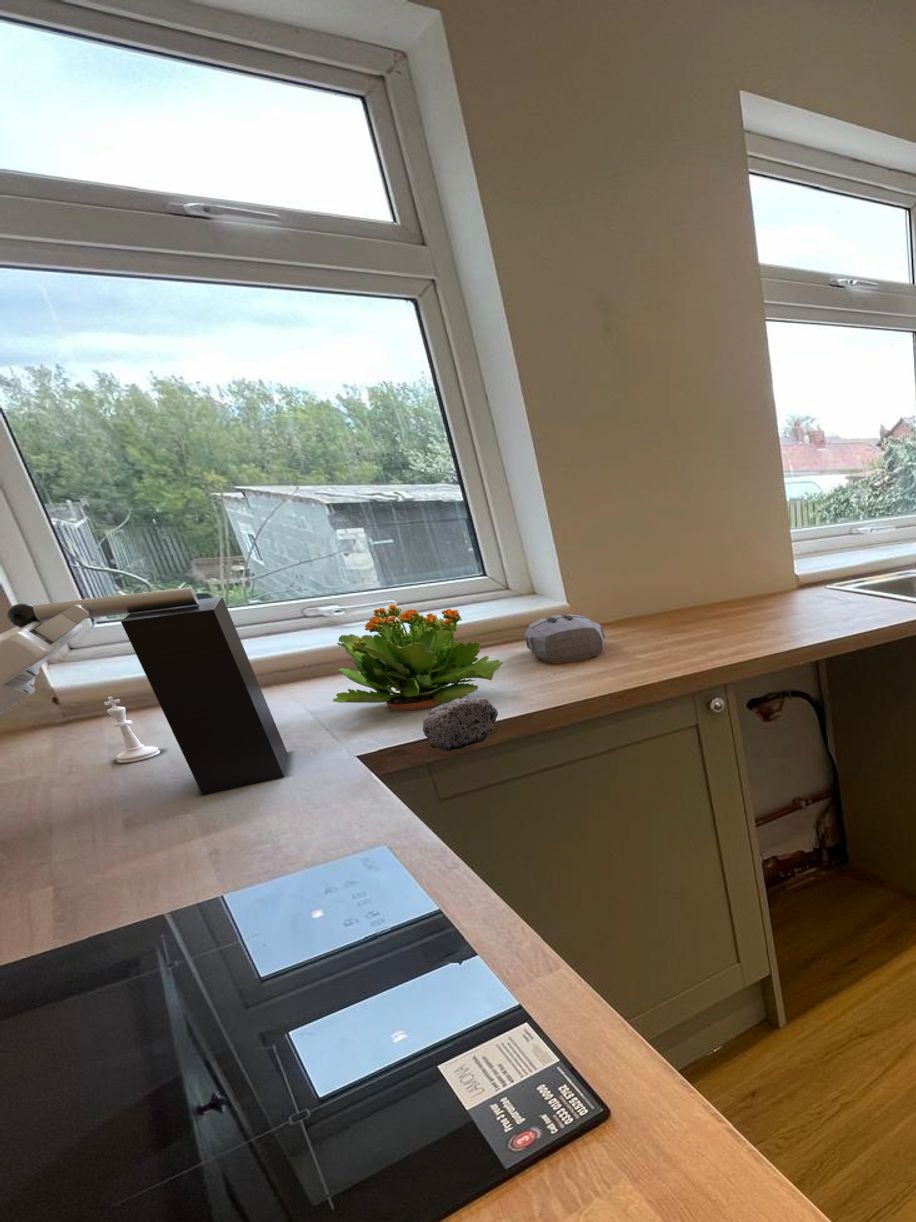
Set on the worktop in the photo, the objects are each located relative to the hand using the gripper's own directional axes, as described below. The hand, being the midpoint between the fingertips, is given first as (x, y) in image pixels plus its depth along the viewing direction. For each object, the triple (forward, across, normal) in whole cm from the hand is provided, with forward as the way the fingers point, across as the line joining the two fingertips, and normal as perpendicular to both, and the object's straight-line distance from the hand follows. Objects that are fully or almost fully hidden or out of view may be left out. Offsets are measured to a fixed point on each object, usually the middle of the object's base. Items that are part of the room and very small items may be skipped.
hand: (88, 605), depth 106 cm
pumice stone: (+17, -8, +41) cm, 45 cm away
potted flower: (+13, +21, +38) cm, 45 cm away
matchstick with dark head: (0, 0, +2) cm, 2 cm away
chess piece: (-19, +22, +20) cm, 35 cm away
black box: (-7, 0, +27) cm, 28 cm away
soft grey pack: (+38, +39, +53) cm, 76 cm away
